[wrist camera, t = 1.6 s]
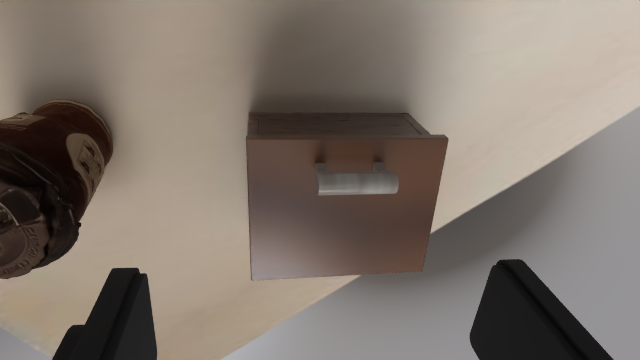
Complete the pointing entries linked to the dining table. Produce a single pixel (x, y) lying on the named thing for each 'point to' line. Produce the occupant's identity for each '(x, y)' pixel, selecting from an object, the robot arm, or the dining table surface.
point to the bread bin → (334, 124)
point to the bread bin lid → (341, 203)
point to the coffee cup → (47, 181)
